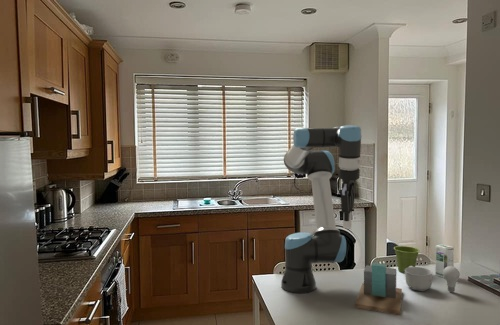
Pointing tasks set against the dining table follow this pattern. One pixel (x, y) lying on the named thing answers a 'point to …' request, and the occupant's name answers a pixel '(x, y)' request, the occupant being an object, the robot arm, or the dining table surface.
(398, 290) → the base board
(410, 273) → the teacup
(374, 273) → the teal rectangular block
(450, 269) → the lightbulb
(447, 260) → the syrup box
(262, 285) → the dining table surface
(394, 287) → the grey rectangular block
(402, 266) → the plant pot
